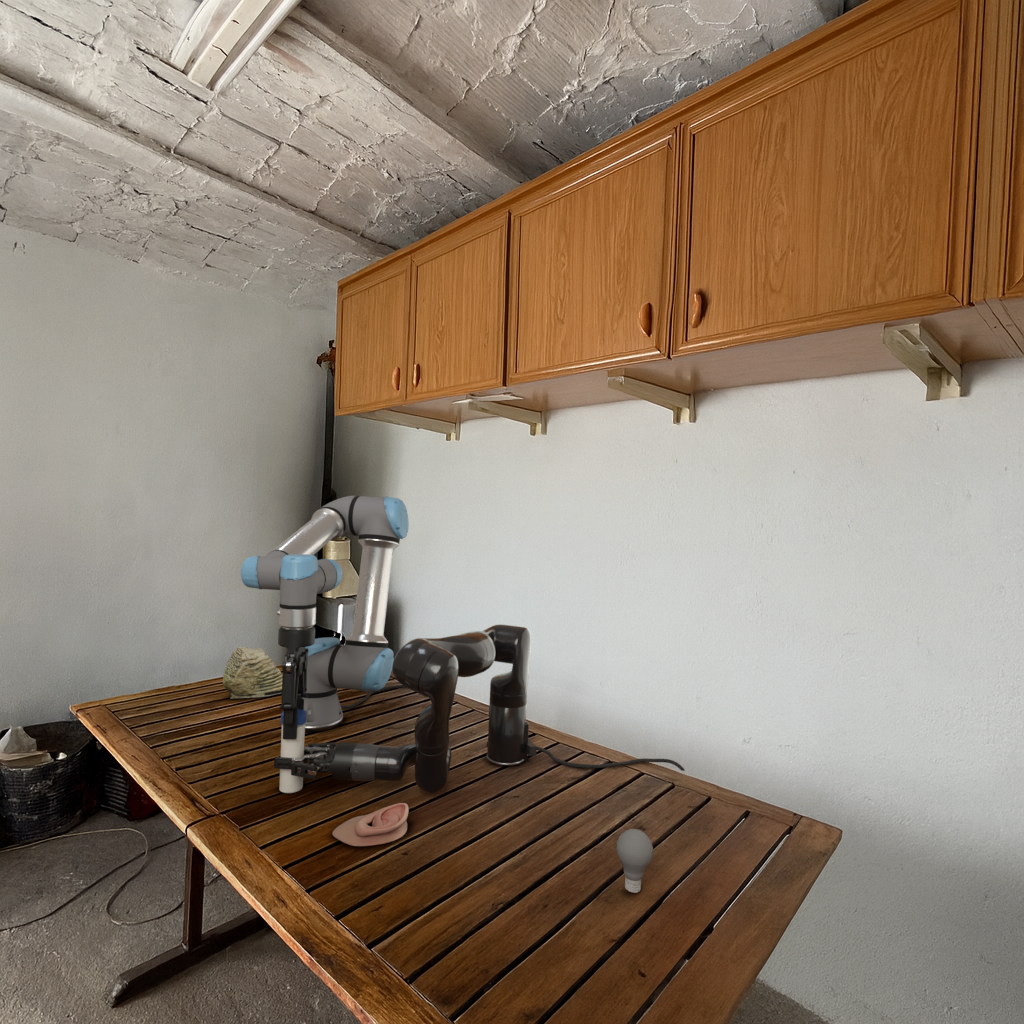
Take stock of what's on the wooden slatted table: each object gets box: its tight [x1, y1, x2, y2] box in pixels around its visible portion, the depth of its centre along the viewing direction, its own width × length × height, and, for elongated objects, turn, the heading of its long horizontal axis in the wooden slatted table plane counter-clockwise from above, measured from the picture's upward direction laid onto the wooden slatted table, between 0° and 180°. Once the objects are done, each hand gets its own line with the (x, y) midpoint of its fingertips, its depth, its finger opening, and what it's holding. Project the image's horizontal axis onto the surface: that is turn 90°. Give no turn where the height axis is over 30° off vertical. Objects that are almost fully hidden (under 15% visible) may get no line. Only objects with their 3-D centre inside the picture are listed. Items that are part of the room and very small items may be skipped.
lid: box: [280, 709, 307, 726], centre depth 137 cm, size 5×5×2 cm
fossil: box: [222, 646, 283, 699], centre depth 198 cm, size 9×18×15 cm, turn 132°
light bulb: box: [615, 828, 654, 894], centre depth 106 cm, size 6×6×10 cm
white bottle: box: [278, 723, 306, 794], centre depth 137 cm, size 5×5×16 cm
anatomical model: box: [332, 802, 410, 847], centre depth 121 cm, size 13×4×12 cm
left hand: (293, 733), depth 137 cm, fingers closed on lid, 5 cm apart
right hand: (280, 757), depth 137 cm, fingers closed on white bottle, 4 cm apart
